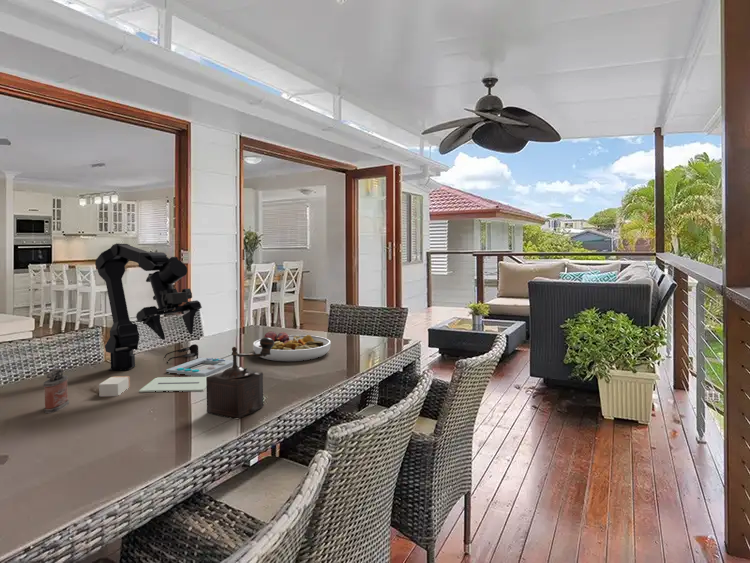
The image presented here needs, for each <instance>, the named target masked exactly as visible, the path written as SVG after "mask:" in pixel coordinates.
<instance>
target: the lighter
mask: <svg viewBox="0 0 750 563" xmlns="http://www.w3.org/2000/svg"><path fill="white" fill-rule="evenodd" d="M46 379H47V380H46V381H44V382H43V384H42V385H43V387H44V408H43V410H44V413H46V414H50V413H54V412H58V411H60V410H62V409H64V408H65V407H67V406H68V405H69V403H70V400H69V397H68V396H69V395H68V379H69V376H68V374H67V375H65V374H64V368H53V369H52V370H51V371H50V372H47V373H46Z"/></svg>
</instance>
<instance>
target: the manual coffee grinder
mask: <svg viewBox="0 0 750 563" xmlns="http://www.w3.org/2000/svg"><path fill="white" fill-rule="evenodd" d="M260 339H261V340H260V345H261V347H262V350H261V352H260V354H256V353H238V347H236V346H232V348H231V351H232V352H231V356H232V360H233V366H230V367H228V368H225V369H224V370H222V372H221V371H220V372H218V373H214V374H211V375H208V376H206V377H207V378H206V384H207V387H206V413H207V414H211V415H214V416H220V417H224V416H225V418H229V417H231V418H230V419H234V418H239V419H242V418H244V417H246V416H248V414H249V415H251V414H252V413H255V412H256V411H258V410H260V409H261V408H263V407H264V406H265V405H264V374H263V372H260V371H254V370H248V368H247V367H245V368H244V366H238V364H237V361H238V359H237V357H239V358H243V357H244V358H245V357H250V358H261V357H260V356H264V357H265V356H267V355H271V353H270V350H271V348H272V347H273V346H274V340H273V339H271V338H267V337H264V336H263V338H260ZM243 416H244V417H243ZM241 417H242V418H241Z"/></svg>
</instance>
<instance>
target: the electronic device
mask: <svg viewBox="0 0 750 563" xmlns="http://www.w3.org/2000/svg"><path fill="white" fill-rule="evenodd" d="M205 363H206V365H207V364H208V365H211V366H207V368H204V369H193V368H191V367H195V366H197V365H200V364H205ZM232 366H233V359H224V358H221V359H219V358H213V357H211V358H209V357H198V359H196V358H195V359H193V360H190V361H187V362H184V363H182V364H181V363H180V364H178V365H176V366H172V367H169V368H167V369H165V373H166V372H169V373H168V374H170V373H177V374H176V375H180V374H185V375H184V376H190V375H191V376H190V377H209V376H212V375H214V374H217V372H218V373H219V372H221V371H224V370H226V369H228V368H231V367H232Z"/></svg>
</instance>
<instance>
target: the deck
mask: <svg viewBox="0 0 750 563" xmlns="http://www.w3.org/2000/svg"><path fill="white" fill-rule="evenodd" d="M130 377H131V376H129V375H124V376H123V375H121V376H119V375H118V376H115V375H114V376H113V375H112V376H111V377H109V378H107V379H105V380H104V381H102V382H100V383H99V384H98V389H99V390H98V394H99V397H119V396H120V395H121V393H122V392H123V393H124V391H125V390H126V389H127V390H129V389H130V388H131V378H130ZM129 387H130V388H129ZM128 388H129V389H128ZM127 390H126V391H127ZM126 391H125V392H126ZM123 393H122V394H123ZM118 395H119V396H118Z"/></svg>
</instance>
